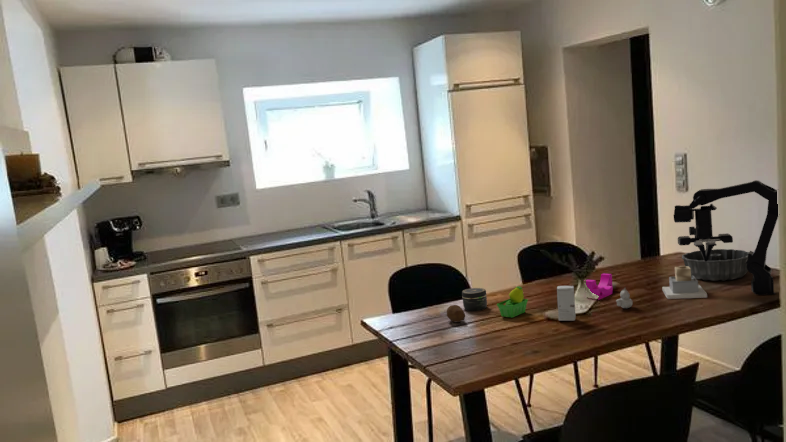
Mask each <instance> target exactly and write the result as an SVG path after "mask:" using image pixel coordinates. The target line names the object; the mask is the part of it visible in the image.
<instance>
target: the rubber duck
mask: <svg viewBox="0 0 786 442" xmlns="http://www.w3.org/2000/svg"><path fill="white" fill-rule="evenodd" d="M619 295H620V298H618V299H616V300H615V302H616V306H617V307H621V308H622V309H630V308H631V307H632V306H633V299H631V297H630V296H631V294H630V292H629V291H628V290H627V289H626V288H622V289H621V291H620V293H619Z"/></svg>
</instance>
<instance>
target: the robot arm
mask: <svg viewBox="0 0 786 442" xmlns="http://www.w3.org/2000/svg"><path fill="white" fill-rule="evenodd" d="M777 190H778V189H775V188H774V187H772V186H769V185H767V184H765V183H763V182H762V181H760V180H753V181H749V182H744V183H741V184H735V185H731V186H730V185H729V186H727V187H721V188H701V189H699V190H697V191H696V192H695V193H694V194H693V196H692V201H690V203H689V204H688V205H680V204H679V205H677V204H676V205H675V206H674V210H673V211H674V212H673V221H674V223H677V224H678V223H691V222H692V220H694V219H695V222H694V223H695V226H689V227H688V234H689V235H685V236H684V235H683V236H682V235H681V236H677V244H678V245H679V246H690V244H691V243H692V244H693V246H695V247H697V248H698V249H699V250H698V251H701V254H702V256H703V258H704V261H707V260H708V258H709V255H710V252H711V250H714V247H715V246H716V247H717V242H722V243H724V244H728V243H729V244H731V243H733V242H734V241H733V240H734V239H733V236H732V235H731V234H729V233H718V235H717V236H714V235H713V218H712V216H713V215H712V211H716V210H717V207H716V206H715V205H714V204H713V202H716V201H718V200H721V199H725V198H729V197H735V196H741V195H745V194H750V193H756V195H759V196H760V197H762V198H764V199H765V200H768V201H767V212H766V213H767V214H766V216H765V219H764V222H763V225H762V229H761V232H760V235H759V238H758V242H757V244H756V247H755V249H754V250H749V251H748V252H749V254H748V259H747V261H746V262H745V264H747V266H746V267H747V270H748V272H749V273H750V274H751V275H752V280H750V287H751V288H750V289H751V292H752V293H754V295H756V296H760V295H761V296H762V295H764V296H765V295H768V296H769V295H776V292H775V288H774V287H775V286H774V277H773V276H772V272H773V268H771V267H770V266H769V265H767V263H766V262H767V253H768V248H769V245H770V243H771V240H772V239H771V238H772V236H773V233H774V230H775V227H776V224H777V221H778V219H779V216H778V204H777ZM708 204H709V205H708ZM698 206H700V207H699V208H697V207H698ZM690 236H694V237H690ZM704 242H705V244H704ZM705 250H706V253H705Z"/></svg>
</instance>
